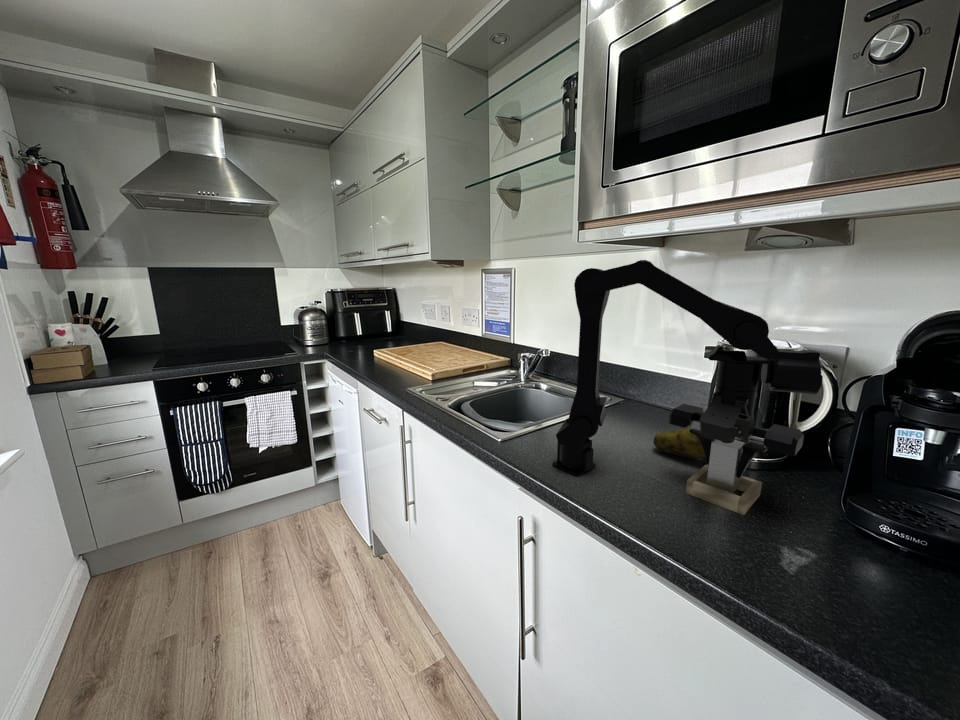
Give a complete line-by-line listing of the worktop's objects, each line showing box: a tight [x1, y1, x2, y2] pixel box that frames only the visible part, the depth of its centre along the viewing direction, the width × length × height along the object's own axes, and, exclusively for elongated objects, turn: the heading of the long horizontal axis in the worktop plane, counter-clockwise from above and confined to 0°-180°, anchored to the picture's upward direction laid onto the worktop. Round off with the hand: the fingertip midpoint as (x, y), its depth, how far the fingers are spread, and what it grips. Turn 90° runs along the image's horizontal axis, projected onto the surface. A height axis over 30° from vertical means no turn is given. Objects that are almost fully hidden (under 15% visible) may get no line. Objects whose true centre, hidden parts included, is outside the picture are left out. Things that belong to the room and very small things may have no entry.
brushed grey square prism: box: [706, 439, 746, 494], centre depth 67 cm, size 4×4×8 cm
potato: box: [653, 425, 706, 459], centre depth 82 cm, size 8×13×8 cm, turn 26°
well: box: [685, 463, 763, 516], centre depth 68 cm, size 9×9×2 cm
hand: (724, 472), depth 68 cm, fingers closed on brushed grey square prism, 4 cm apart
